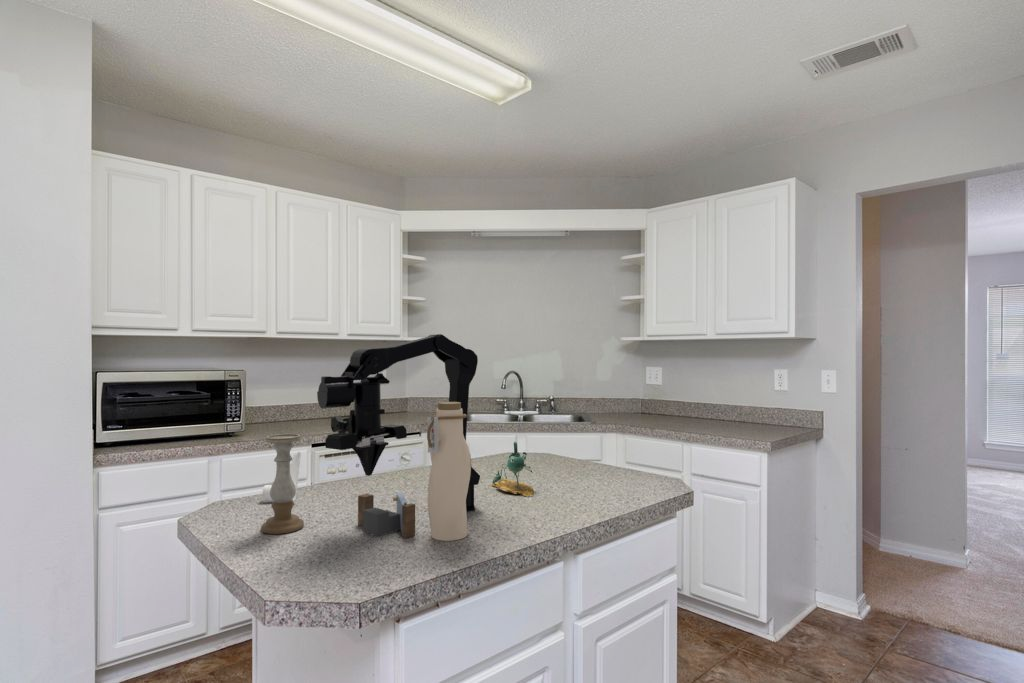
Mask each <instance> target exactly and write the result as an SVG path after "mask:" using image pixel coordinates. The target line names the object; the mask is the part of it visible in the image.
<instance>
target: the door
mask: <svg viewBox="0 0 1024 683" xmlns="http://www.w3.org/2000/svg"><path fill="white" fill-rule="evenodd" d="M392 501H393V502H396V513H398V514H400V531H401V533H402V506H403V505H404V503H407V504H408V502H407V499H406V497H405V495H404V494H403V492H396V496H392Z"/></svg>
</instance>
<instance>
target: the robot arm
mask: <svg viewBox="0 0 1024 683" xmlns="http://www.w3.org/2000/svg"><path fill="white" fill-rule="evenodd" d="M430 353H433V355H435V357H436V358H437V359H438V360H440V361H441V362H442V363H444V369H445V371H444V372H445V375H446V377H447V380H448V382H449V395H448V402H460V403H461V409H462V411H463V414H466V415H467V417H466V418H463V435H464V438H465V441H466V442H467V428H468V412H469V394H470V384H471V383H472V381H473V379H474V378H475V375H476V373H477V368H478V355H477V353H476V352H475V351H474V350H472V349H469V348H465V347H464V346H463V345H461V344H459V343H458V342H455V341H453V340H451V339H449V338H448V337H447V336H445V335H444V334H441V333H440V334H439V333H438V334H430V335H428V336H425V337H422V338H418V339H414V340H410V341H405V342H402V343H398V344H395V345H390V346H386V347H372V348H371V347H370V348H359V349H357V350H354V351H353V352H352V354H351V355H350V359H349V363H348V365H347V367H345V369H344V371H343V372H342V374H341V375H340V376H325V375H324V376H321V377H320V380H321V381H320V383H319V386H318V391H317V395H316V396H317V403H318V406H319V407H320V409H323V410H324V409H336V408H337V409H338V408H347V407H348V408H349V407H350V406H351V404H352V403H353V409H350V411H349V417H347V418H343V416H341V415H340V416H333V417H332V418H330V427H331V431H332V432H333V433H330V434H328V435H327V436H326V438H325V440H324V442H325V445H324V446H325V449H329V450H330V449H333V450H336V451H337V450H339V451H345V450H346V451H347V450H350V449H352V450H353V451H354V452H355V454H356V456H357V457H358V459H359V461H360V464H361V467H362V469H363V472H364V474H365V476H367V477H369V476H372V475H373V472H374V471H375V467H376V466H377V464H378V461H379V459H380V457H381V456H382V454H383V452H384V450H385V448H386V446H389V444H390V443H389V442H387V441H385V438H389V437H395V439H396V440H401V439H406V438H408V437H407V428H406V427H405V425H402V424H392V423H391V424H384V425H382V415H383V414H385V413H386V411H385V408H382V404H381V402H382V401H381V399H382V398H381V385H384V384H385V385H386V384H387V385H389V384H390V380H389V379H388V378H387V377H386V376H385V375H384V374H383V373H381V372H383V371H386V370H387V369H389V368H391V367H392V366H393V365H394V364H396V363H399V362H403V361H406V360H409V359H413V358H416V357H420V356H424V355H427V354H430ZM370 375H371V376H370ZM373 375H374V376H373ZM354 381H357V382H354ZM471 456H472V455H471V454H470V459H471V460H472V458H471ZM480 480H481V475H480V474H479V473H478V472H477V471H476V470H475V469H474V468H473V467H472V466H471V473H470V480H469V486H468V492H467V497H466V511H475V510H476V505H475V486H476V485H479V483H480Z"/></svg>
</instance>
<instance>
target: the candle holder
mask: <svg viewBox="0 0 1024 683" xmlns="http://www.w3.org/2000/svg"><path fill="white" fill-rule="evenodd" d="M302 436H303V435H301V434H297V433H282V434H281V433H279V434H272V435H271V434H270V435H267V436H265V437H264V442H265V443H268V444H273V445H272V447H273V449H274V450H275V452H276V456H275V457H274V459H273V461H274V462H275V463H276V464H275V465H276V471H275V472H276V473H275V477H274V481H273V482H272V484H271V485H272V486H271V489H270V497H271V499H272V500H273V501H274V502H272V504H271V505H270V507H271V509H272V510H273V512H274V514H273V516H270V517H268V518H267V519H266V521H265V522H264V523H262V524H261V525H260V531H261V532H262V533H264V534H267V535H268V534H269V535H281V534H288V533H293V532H296V531H299V530H301V529H302V528H303V527H304V526H305V521H304V520H303V519H302V518H300V516H299V515H297V514H293V513H292V510H293V508H294V506H295V501H292V499H293V498H294V496H295V495H296V496H297V493H296V487H295V484H294V482H293V480H292V478H291V475H290V464H291V462H292V460H293V457H292V456H291V451H292V448H294V443H295V442H300V441H302V440H303V439H302V438H303V437H302Z"/></svg>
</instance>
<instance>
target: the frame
mask: <svg viewBox="0 0 1024 683" xmlns="http://www.w3.org/2000/svg"><path fill="white" fill-rule="evenodd" d="M371 508H374V494H371V493H363V494H359V495H357V525H358V526H360V527H363V510H367V509H371ZM414 536H416V504H415V503H411V502H410V503H408V502H407V503H404V505H403V506H402V532H401V537H402V538H404V537H405V539H408V537H409V538H411V537H414Z"/></svg>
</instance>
